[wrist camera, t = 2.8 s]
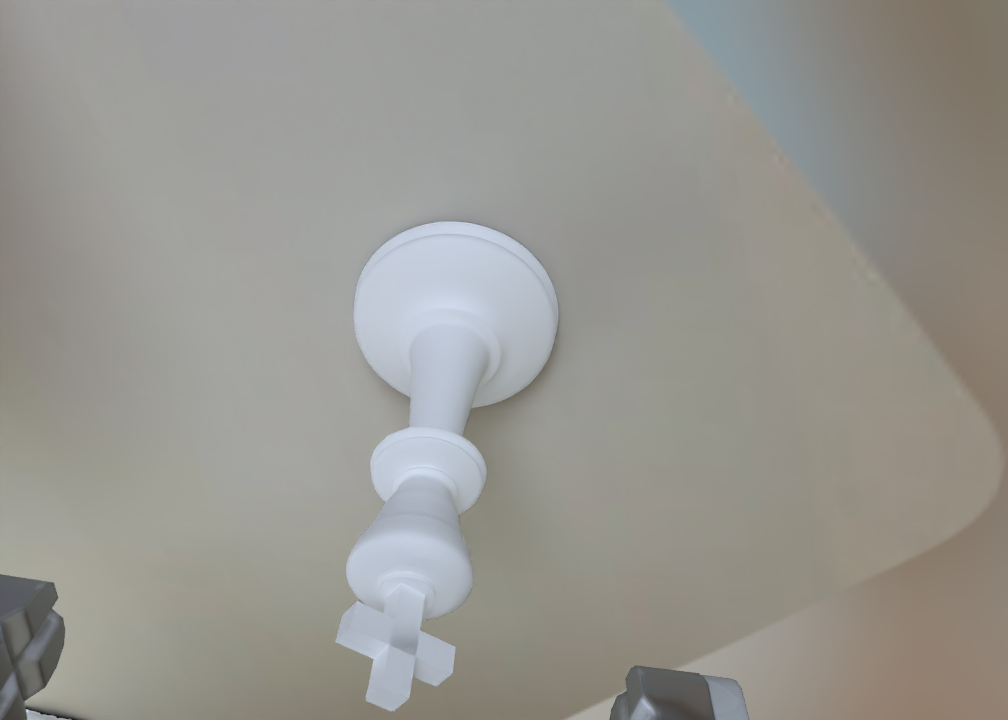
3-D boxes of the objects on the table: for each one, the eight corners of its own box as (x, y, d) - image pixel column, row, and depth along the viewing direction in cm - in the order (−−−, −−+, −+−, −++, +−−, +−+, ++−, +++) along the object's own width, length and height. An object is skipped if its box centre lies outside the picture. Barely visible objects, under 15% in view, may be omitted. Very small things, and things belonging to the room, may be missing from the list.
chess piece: (426, 177, 17) (310, 518, 8) (600, 298, 18) (648, 686, 10) (319, 330, 19) (148, 710, 11) (481, 424, 20) (439, 822, 12)
